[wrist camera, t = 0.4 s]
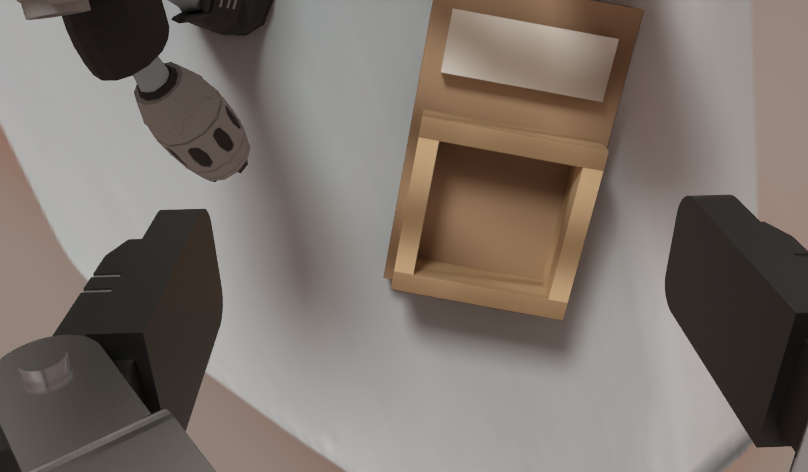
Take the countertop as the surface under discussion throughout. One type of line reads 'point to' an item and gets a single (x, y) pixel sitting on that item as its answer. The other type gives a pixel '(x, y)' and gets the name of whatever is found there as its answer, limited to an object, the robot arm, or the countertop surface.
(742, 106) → the countertop surface
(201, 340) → the robot arm
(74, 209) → the countertop surface
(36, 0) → the robot
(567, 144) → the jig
